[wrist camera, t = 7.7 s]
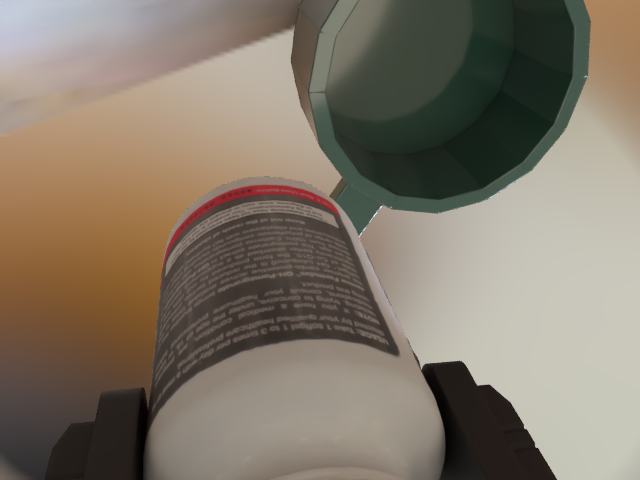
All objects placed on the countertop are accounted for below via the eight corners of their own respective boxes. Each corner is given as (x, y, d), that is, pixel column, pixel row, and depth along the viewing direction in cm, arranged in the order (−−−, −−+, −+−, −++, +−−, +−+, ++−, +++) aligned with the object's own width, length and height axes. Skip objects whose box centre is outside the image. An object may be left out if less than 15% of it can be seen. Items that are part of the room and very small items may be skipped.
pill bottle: (119, 264, 15) (25, 703, 7) (264, 127, 14) (358, 464, 6) (261, 361, 18) (314, 763, 10) (394, 253, 17) (585, 608, 8)
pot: (222, 136, 32) (226, 183, 27) (423, -209, 25) (480, -237, 20) (402, 231, 37) (435, 286, 32) (606, -34, 31) (690, -20, 26)
